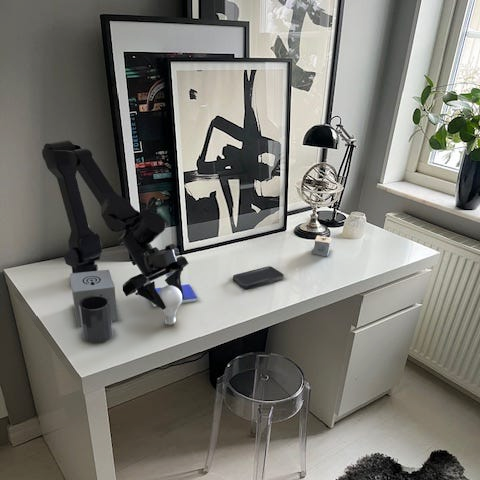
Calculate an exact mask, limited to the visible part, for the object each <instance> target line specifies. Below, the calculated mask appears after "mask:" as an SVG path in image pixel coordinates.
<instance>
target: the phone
mask: <svg viewBox="0 0 480 480" xmlns="http://www.w3.org/2000/svg"><path fill="white" fill-rule="evenodd" d="M284 277H285V274H284V273H282V272H281V271H279V270H278V269H276V268H274V267H273V266H270V265H269V266H263V267H260V268H256V269H252V270H248V271H245V272H241V273H236V274H234V275H233V276H232V280H233V281H234V282H235V283H236V284H237V285H238V286H240V287H241V288H243V289H244V290H250V289H253V288H256V287H260V286H264V285H267V284H271V283H275V282H279V281H281V280H283V279H284Z"/></svg>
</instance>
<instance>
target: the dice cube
mask: <svg viewBox="0 0 480 480" xmlns="http://www.w3.org/2000/svg"><path fill="white" fill-rule="evenodd" d="M331 242H332V237H329V236H323V235H319V234H318V235H316V237H315V240H314V244H313V245H314V246H313V251H312V252H313V253H312V254H313V255H315V256H316V255H317V256H321V257H328V256H329V254H330V250H331V244H332V243H331Z"/></svg>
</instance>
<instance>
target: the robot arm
mask: <svg viewBox="0 0 480 480" xmlns="http://www.w3.org/2000/svg"><path fill="white" fill-rule="evenodd" d="M41 155H42V159H43V160H44V162H45V166H46V168H47V170H48V171H49V172H50V173H51V174H52V175H53V176H54V177H55V178H56V180H57V184H58V187H59V188H58V189H59V191H60V195H61V198H62V202H63V205H64V209H65V213H66V217H67V221H68V223H69V228H70V234H69V238H68V242H67V243H68V248H69V250H68V251H67V252H66V254H65V255H64V256H63V259H64V262H65V264H66V266H69V267H71V271H72V272H71V274H72V273H81V272H91V271H99V268H98V267H99V266H98V264H97V263H96V261H100V259H101V255H102V252H103V245H102V242H101V237H100V234H99V233H98V232H94V231H93V230H92V228H91V227H90V223H89V220H88V216H87V212H86V209H85V205H84V201H83V197H82V194H81V190H80V186H79V181H78V178H77V173H78V174H79V175H80V177H81V178H82V180H83V181H84V182H85V184H86V186H87V187H88V189H89V190H90V192H91V194H92V195H93V196H94V197H95V199H96V200H97V202H98V204H99V206H100V215H101V217H102V219H103V221H104V223H105V225H106V227H107V228H108V229H109V230H110V231H111V232H114V233H119V232H122V233H119V234H118V240H117V245H118V246H122V245H124V247H125V248H126V249H127V252H128V253H129V255H130V256H131V258H132V261H131V264H132V266H136V267H137V268H138V269H139V272H140V273H139V274H136V275H134V276H132V277H130V278H129V279H128V280H126V282H124V283H123V284H122V292H123V294H124V295H125V297H128V296H131V295H133V294H134V295H135V296H140V297H142V298H143V299H144V298H145V299H146V300H147V301H149V302H151V304H152V303H154V304H155V305H157V306H156V307H158V308H160V309H161V310H162V311H163V310H164V309H165V308H166V307H165V304H164V302H163V301H162V299H161V297H160V296H159V294H158V292H157V291H156V289H155V288H156V283H155V280H157V279H159V278H161V277H163V276H166V278H165V279H164V282H165V283H166V284H167V286H168V285H171V286H175V287H177V288H178V289H179V290H180V291H181V293H182V300H183V299H184V295H183V290H182V286H181V285H182V281H181V275H182V272H183V271H184V268H185V267H186V266H188V265H189V264H190V263H189V261H188V260H187V258H186V257H185V256H183V255H180V252H179V249H178V248H177V246H176V245H175V243H170V244H168V245H166V246H165V247H164V250H161V251H160V250H159V248H158V247H156V246H155V247H153V246H152V244H151V243H152V242H154V241H155V240H156V239H157V238H158V237H159V236H161V234H162V233H164V231H165V230H166V221H165V219H164V218H163V216H161V215H160V214H159V213H157V212H155V211H152V210H151V208H150V207H148V208H144V209H142V210H141V211H138V210H137V209H136V208H134V207H133V205H132V204H131V203H130V202H129V200H128V199H126V198H124V197H123V196H120V195H119V194H118V193H117V192H116V190H115V189H114V188H113V186H112V184H111V182H110V181H109V180H108V179H107V177H106V175H105V174H104V172H103V171H102V170H101V168H100V166H99V165H98V163H97V162H96V160H95V159H94V156H93V153H92V151H91V150H90V149H89V148H85V147H83V145H80V144H77V143H76V144H75V143H73V142H72V141H70V139H64V140H58V141H52V142H47V143H45V144H44V146H43V148H42V150H41ZM125 230H126V231H125ZM123 231H124V232H123ZM179 255H180V256H179Z"/></svg>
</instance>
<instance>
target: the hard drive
mask: <svg viewBox="0 0 480 480" xmlns="http://www.w3.org/2000/svg"><path fill="white" fill-rule="evenodd" d="M181 286H182V290H183V295H184V299H183V300H182V303H181V304H185V303H191V302H192V303H193V302H197V301H198V297H197V295H196V292H195V291H194V289H193V287H192V286H191V284H190V283H189V284H181ZM163 287H164V286H162V287H155V289H156V291H157V292H159V291H160V289H161V288H163ZM151 305H152V307H153V308H154V307H158V306H157V305H155V304H154V303H152V302H151Z"/></svg>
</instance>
